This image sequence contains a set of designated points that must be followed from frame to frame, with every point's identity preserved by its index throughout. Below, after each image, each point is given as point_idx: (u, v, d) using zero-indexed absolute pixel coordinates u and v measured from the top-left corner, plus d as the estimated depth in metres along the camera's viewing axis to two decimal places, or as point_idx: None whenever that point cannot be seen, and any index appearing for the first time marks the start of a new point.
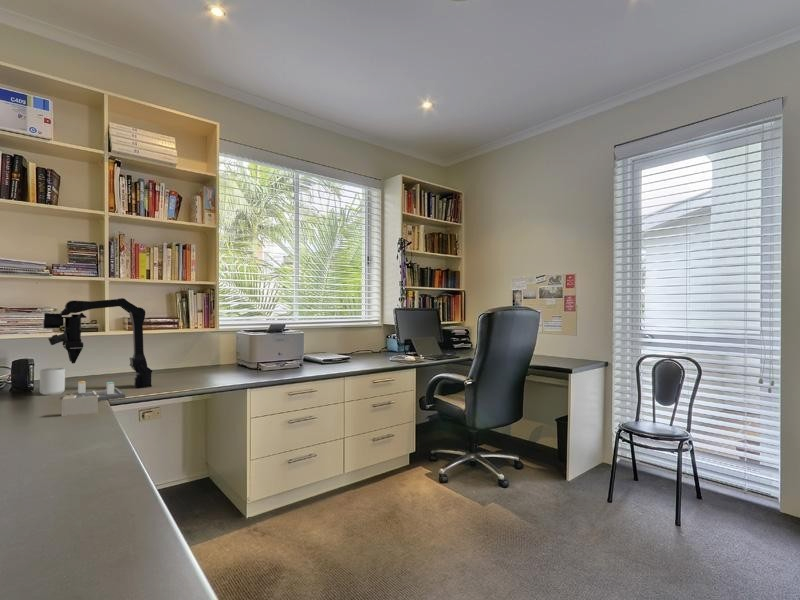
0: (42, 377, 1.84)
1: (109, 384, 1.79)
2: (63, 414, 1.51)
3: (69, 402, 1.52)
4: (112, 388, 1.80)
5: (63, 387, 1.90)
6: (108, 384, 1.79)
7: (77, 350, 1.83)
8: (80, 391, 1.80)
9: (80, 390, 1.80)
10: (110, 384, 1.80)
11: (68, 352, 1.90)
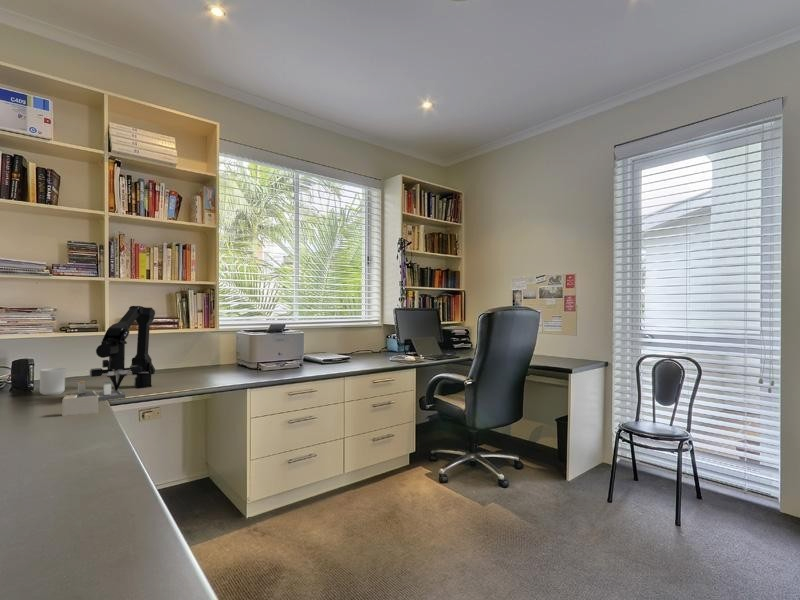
0: (42, 377, 1.84)
1: (106, 384, 1.79)
2: (64, 414, 1.51)
3: (70, 402, 1.52)
4: (109, 388, 1.79)
5: (63, 387, 1.90)
6: (105, 384, 1.78)
7: None
8: (80, 391, 1.80)
9: (80, 390, 1.80)
10: (107, 384, 1.79)
11: None
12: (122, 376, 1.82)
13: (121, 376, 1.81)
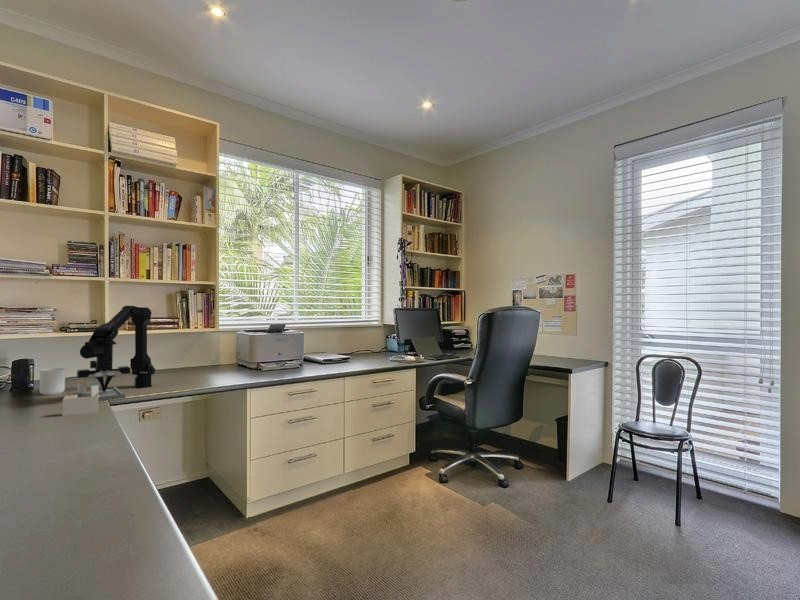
0: (42, 377, 1.84)
1: (93, 386, 1.75)
2: (64, 414, 1.51)
3: (70, 402, 1.52)
4: (96, 390, 1.76)
5: (63, 387, 1.90)
6: (92, 386, 1.75)
7: None
8: (80, 391, 1.80)
9: (80, 390, 1.80)
10: (94, 386, 1.76)
11: None
12: (110, 377, 1.79)
13: (109, 377, 1.78)
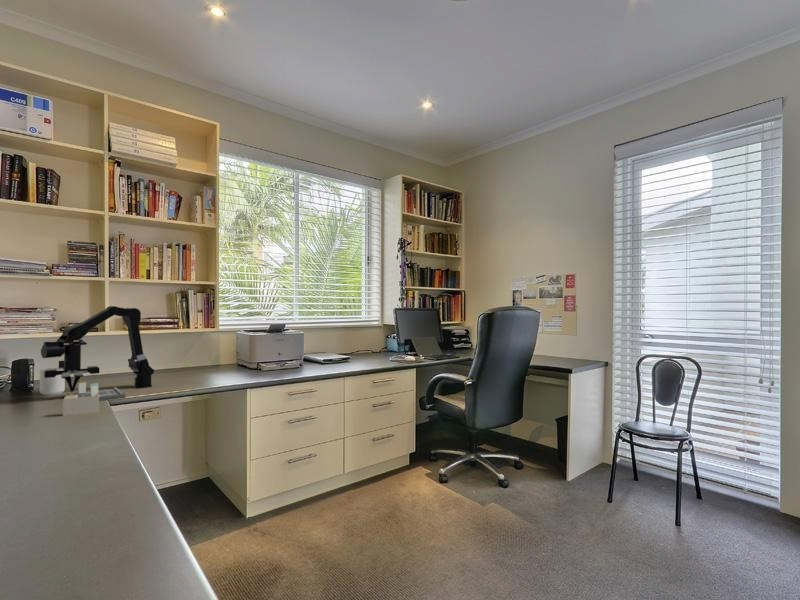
0: (42, 377, 1.84)
1: (93, 386, 1.75)
2: (65, 414, 1.52)
3: (71, 402, 1.52)
4: (96, 390, 1.76)
5: (63, 387, 1.90)
6: (92, 386, 1.75)
7: None
8: (80, 391, 1.80)
9: (80, 390, 1.80)
10: (94, 386, 1.76)
11: None
12: (78, 377, 1.79)
13: (76, 377, 1.79)
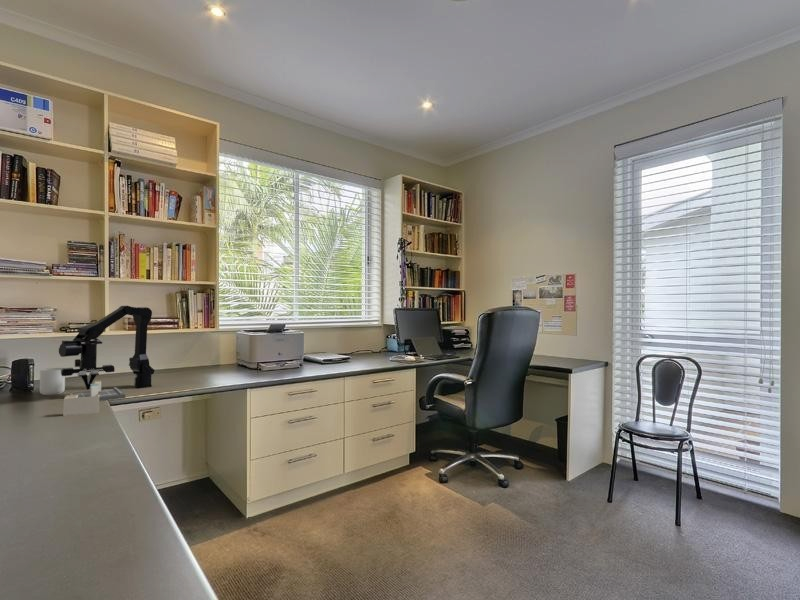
0: (42, 377, 1.84)
1: (93, 386, 1.75)
2: (65, 414, 1.52)
3: (71, 402, 1.52)
4: (96, 390, 1.76)
5: (63, 387, 1.90)
6: (92, 386, 1.75)
7: None
8: None
9: None
10: (94, 386, 1.76)
11: None
12: (93, 375, 1.83)
13: (92, 375, 1.83)
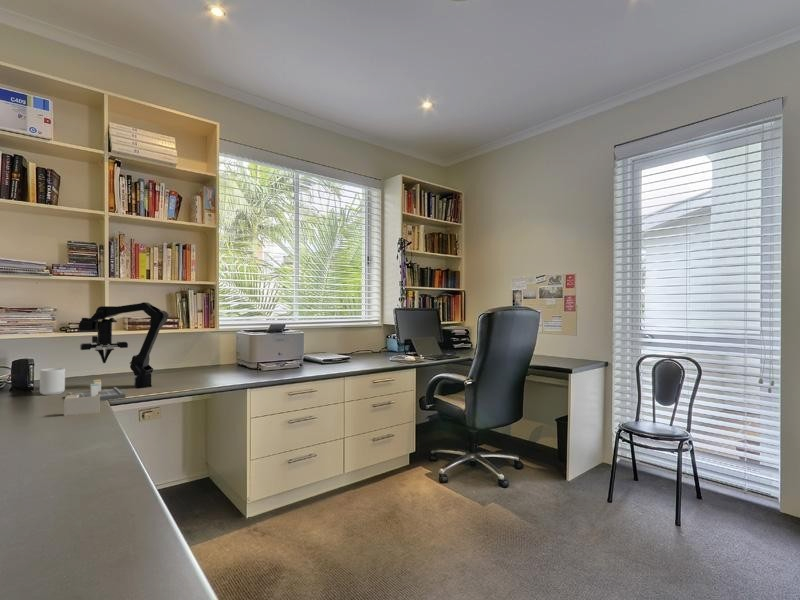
0: (42, 377, 1.84)
1: (93, 386, 1.75)
2: (66, 414, 1.52)
3: (71, 402, 1.53)
4: (96, 390, 1.76)
5: (63, 387, 1.90)
6: (92, 386, 1.75)
7: None
8: None
9: None
10: (94, 386, 1.76)
11: None
12: (109, 350, 2.02)
13: (108, 350, 2.02)
